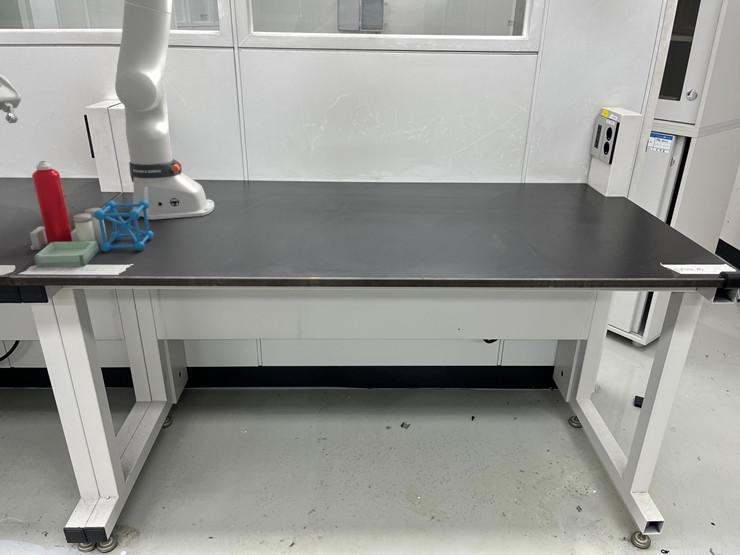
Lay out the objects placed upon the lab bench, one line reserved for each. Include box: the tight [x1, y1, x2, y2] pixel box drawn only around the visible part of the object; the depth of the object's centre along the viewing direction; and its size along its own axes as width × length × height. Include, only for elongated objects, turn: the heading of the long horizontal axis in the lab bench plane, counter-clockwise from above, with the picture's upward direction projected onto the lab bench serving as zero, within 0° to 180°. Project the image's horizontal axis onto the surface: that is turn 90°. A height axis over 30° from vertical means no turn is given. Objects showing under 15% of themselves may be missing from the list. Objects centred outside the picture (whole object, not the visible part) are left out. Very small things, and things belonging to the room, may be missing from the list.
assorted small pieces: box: [29, 207, 108, 268], centre depth 128 cm, size 16×20×8 cm
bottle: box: [31, 160, 73, 245], centre depth 128 cm, size 5×5×20 cm
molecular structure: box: [94, 200, 154, 252], centre depth 131 cm, size 10×10×10 cm
